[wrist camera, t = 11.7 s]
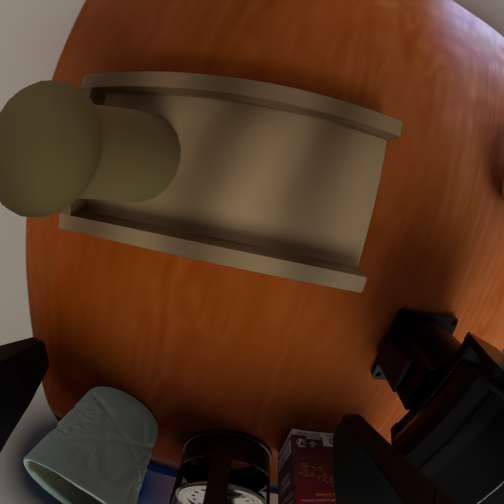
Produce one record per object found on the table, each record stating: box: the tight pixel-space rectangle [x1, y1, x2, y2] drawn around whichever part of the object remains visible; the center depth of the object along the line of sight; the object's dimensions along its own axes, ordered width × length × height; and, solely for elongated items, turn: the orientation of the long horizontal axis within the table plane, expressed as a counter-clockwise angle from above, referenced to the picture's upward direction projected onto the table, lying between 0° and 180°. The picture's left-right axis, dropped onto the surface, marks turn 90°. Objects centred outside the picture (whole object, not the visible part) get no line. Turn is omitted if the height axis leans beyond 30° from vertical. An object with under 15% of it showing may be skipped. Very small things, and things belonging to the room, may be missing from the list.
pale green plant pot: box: [24, 386, 158, 504], centre depth 18 cm, size 10×10×12 cm
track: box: [59, 71, 403, 293], centre depth 17 cm, size 20×10×3 cm, turn 79°
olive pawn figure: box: [0, 81, 181, 217], centre depth 12 cm, size 6×6×11 cm
